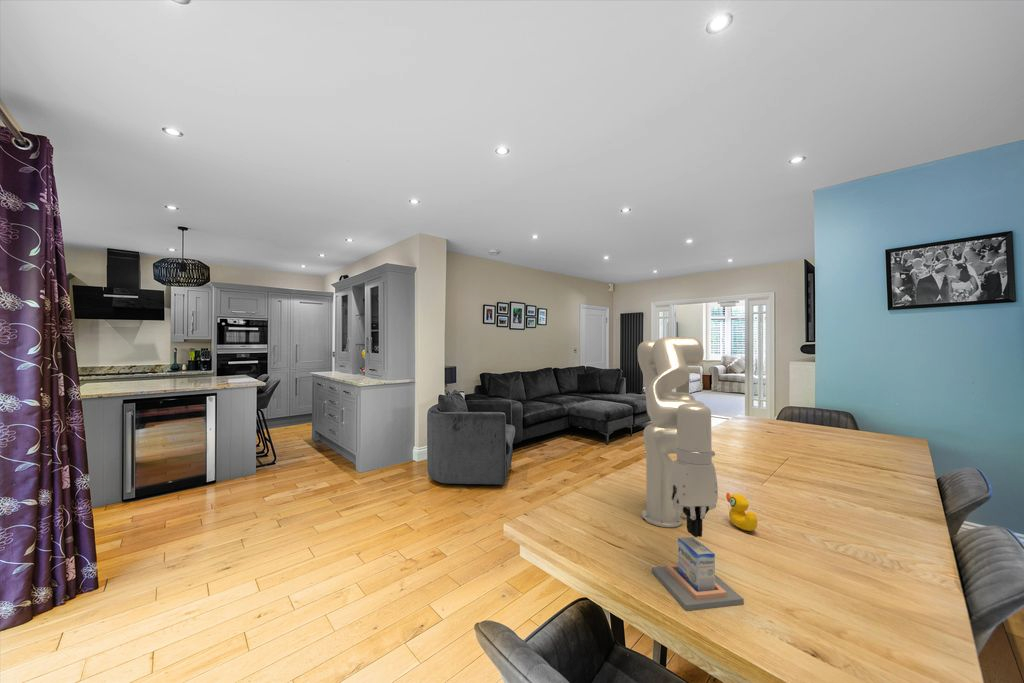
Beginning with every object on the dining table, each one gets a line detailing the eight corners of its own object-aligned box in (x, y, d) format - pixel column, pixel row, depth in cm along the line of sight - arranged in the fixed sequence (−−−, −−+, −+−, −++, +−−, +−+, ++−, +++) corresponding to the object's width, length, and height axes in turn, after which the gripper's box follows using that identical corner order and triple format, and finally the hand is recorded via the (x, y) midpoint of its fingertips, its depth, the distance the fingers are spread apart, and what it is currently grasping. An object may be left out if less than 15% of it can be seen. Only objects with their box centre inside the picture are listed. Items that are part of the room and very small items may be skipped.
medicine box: (676, 572, 91) (676, 537, 91) (693, 571, 92) (692, 535, 92) (698, 593, 83) (698, 554, 83) (715, 591, 84) (715, 553, 84)
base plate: (701, 567, 95) (701, 558, 95) (743, 604, 81) (743, 594, 82) (651, 572, 93) (651, 563, 93) (686, 610, 79) (686, 600, 79)
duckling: (720, 519, 123) (719, 489, 123) (734, 518, 124) (734, 488, 124) (747, 536, 111) (747, 503, 112) (762, 535, 112) (762, 502, 113)
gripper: (711, 451, 93) (712, 525, 92) (656, 453, 91) (656, 529, 90) (733, 459, 85) (734, 540, 85) (674, 462, 83) (675, 544, 83)
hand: (694, 534), depth 87 cm, fingers closed
